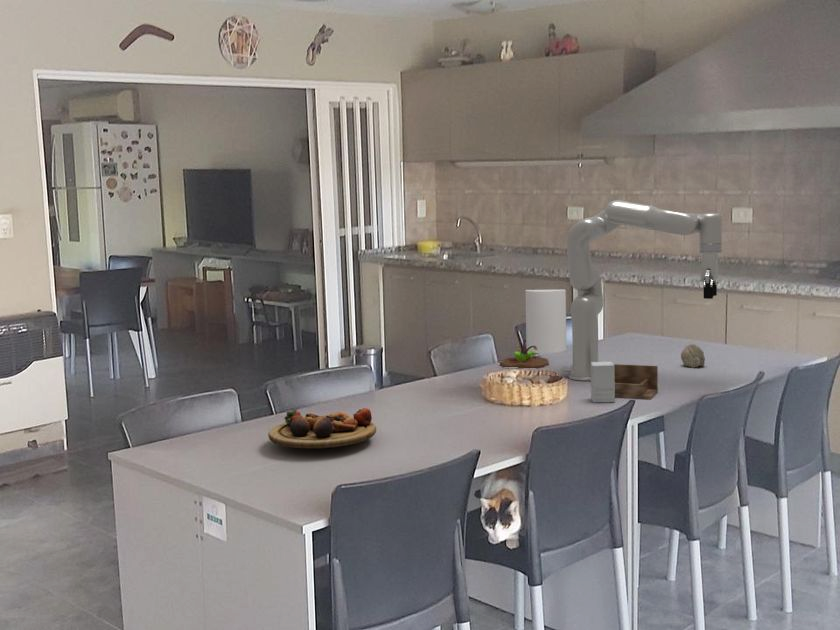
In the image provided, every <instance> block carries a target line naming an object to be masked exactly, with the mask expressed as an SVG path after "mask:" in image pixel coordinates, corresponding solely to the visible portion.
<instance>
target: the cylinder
mask: <svg viewBox="0 0 840 630" xmlns="http://www.w3.org/2000/svg"><path fill="white" fill-rule="evenodd" d="M566 296H567V289H525V339H526V340H527V342H526V343H525V348H526V349H527V348H529V347H530V346H536V347H537V348H538V349H537V350H535V349H534V347H532V348H530V349H529V350H528V351H533V352H532V354H534V353H537V354H556V353H557V352H558V353H562V352H561V351H563V352H565V351H567V301H566V300H567V297H566ZM564 350H565V351H564ZM558 353H557V354H558Z"/></svg>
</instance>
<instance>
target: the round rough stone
mask: <svg viewBox="0 0 840 630" xmlns="http://www.w3.org/2000/svg"><path fill="white" fill-rule="evenodd" d="M680 358H681V362H682V364H683V365H685V367H687V366H688V368H692V367H693V369H694V368H700V367H704V365H705V361H706V358H705V355H704V351H703V349H702V348H701V347H700V346H699V345H697V344H695V343H694V344H693V343H689V344H686V345H684V349H682V350H681V353H680ZM699 366H700V367H699Z"/></svg>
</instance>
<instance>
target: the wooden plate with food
mask: <svg viewBox="0 0 840 630" xmlns="http://www.w3.org/2000/svg"><path fill="white" fill-rule="evenodd" d="M352 415H353V417H352V416H350V415H349V414H348V413H346V412H343V411H338V412H334V413H330V414H328V415H325V414H324V415H319V414H317V415H316V414H313V413H306V414H305V416H303V415H302V414H301V412H300V411H298V409H292V410H291V411H286V416H284V417H283V420H285V422H283V423H280V424H278V425H275V426H273V427H272V428H271V429H270V430H269V432H268V439H269V440H270V441H271V442H272V443H273V444H276V445H278V446H283V447H287V448H294V449H295V448H296V449H297V448H298V449H327V448H337V447H344V446H350V445H354V444H358V443H361V442H364V441H366V440H369V439H371V438H372V437H374V436H375V435H376V432H377V426H376V425H375V423H373V422H372V419H373V417H372V412H371V409H369V408H367V407H365V408H364V407H363V408H362V409H358V410H357V411H356V413H354V414H352Z"/></svg>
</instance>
